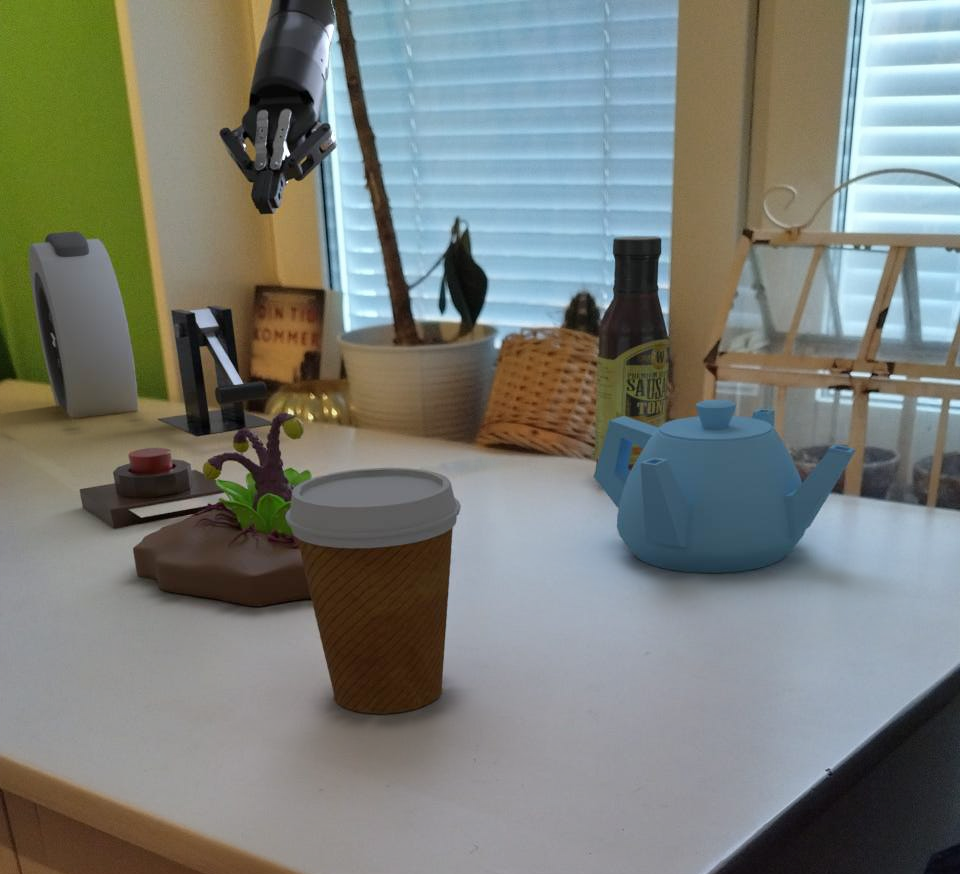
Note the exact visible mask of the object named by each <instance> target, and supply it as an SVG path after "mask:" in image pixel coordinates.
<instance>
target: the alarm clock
mask: <svg viewBox="0 0 960 874" xmlns="http://www.w3.org/2000/svg"><path fill="white" fill-rule="evenodd" d="M28 264H29V277H30V285H31V286H30V287H31V292H32V299H33V307H34V313H35V317H36V323H37V328H38V335H39V339H40V343H41V348H42V353H43V354H42V355H43V358H44V363H45V367H46V371H47V377H48V380H49V385H50V389H51V392H52V395H53V400H54V403H55V406H56V407H58V406H61V407H62V408H63V409H64V410H65V412H66V413H67V414H68V416H69V417H70V418H71V419H80V418H81V419H82V418H88V417H98V416H107V415H115V414H124V413H132V412H138V411H139V394H138V384H137V374H136V368H135V359H134V353H133V347H132V342H131V341H132V340H131V335H130V330H129V325H128V324H129V323H128V320H127V315H126V311H125V306H124V302H123V297H122V294H121V290H120V287H119V282H118V279H117V275H116V272H115V270H114V267H113V264H112V260H111V257H110V255H109V253H108V251H107V249H106V247H105V244H104V243H103V242H102V241H101V240H100V239H99V238H88V239H86V237H85V236H84V234H83V233H81V232H80V231H76V230H75V231H63V232H62V231H61V232H50V233H48V234H47V235H45V239H44V242H35V243H33V242H32V243H31V245H29V251H28Z"/></svg>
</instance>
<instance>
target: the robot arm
mask: <svg viewBox="0 0 960 874" xmlns="http://www.w3.org/2000/svg"><path fill="white" fill-rule="evenodd" d="M269 6H270V7H269V11H268V16H267V20H266V26H265V29H264V32H263V35H262V36H261V40H260V44H259V48H258V52H257V57H256V62H255V67H254V72H253V77H252V81H251V86H250V92H249V97H248V98H249V99H248V108H247V111H246V112H245V113H244V115H242V118H241V125H239V126H237V127H236V128H234V129H233V130H231V129H230V128H229V127H222V128H221V129H220V130H219V133H218V134H219V136H220V138H221V140H222V143H223V145H224V147H225V149H226V151H227V153H228V155H229V156H230V158H231V159H232V161H233V162H234V164H236V166H237V168H238V169H239V170H240V171H241V173H242V175H243V176H244V177H245V179H246V180H247V182H249V183H251V184H252V183H253V184H252V188H251V193H250V197H251V200H252V203H253V206H254V207H255V209H256V210H257V211H258V212H259V214H260V215H274V214H275V213H276V209H280V207H281V205H282V200H283V196H284V190H285V187H286V186H287V185H288V183H289V181H290V180H293V179H294V180H295V181H297V182H301V181H302V180H304V179H305V178H306V177H308V175H309V174H310V173H312V171H313V170H314V169H315V168H317V167H318V166H319V165H320V164H321V163H322V162H323V161H324V160H325V159H326V158H327V157H328V156H329V155H331V153H332V152H333V151H334V150H336V148H337V147H338V143H337V141H336V137H335V134H334V132H333V129H332V127H331V124H330V123H328V122H324V123H322V121H321V120H320V116H321V111H322V105H323V100H324V97H325V96H324V94H325V89H326V86H327V85H326V84H327V81H328V78H329V68H330V52H331V51H330V50H331V46H332V41H333V35H334V29H335V25H336V24H335V23H336V14H335V15H334V11H333V7H332V4H331V0H271V3H270V5H269ZM247 139H248V140H249V142H250V143H251V145H252V146H253V148H254V150H255V158H254V160H252V159H251V157H250V155H249V154H248V153H247V152H246V148H247V143H246V141H247Z"/></svg>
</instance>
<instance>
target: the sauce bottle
mask: <svg viewBox="0 0 960 874" xmlns="http://www.w3.org/2000/svg"><path fill="white" fill-rule="evenodd" d="M612 241H613V243H612V255H613V258H614V273H613V276H614V280H613V287H612V290H613V298H612V300H611V301H610V302H609V303H610V304H609V305H608V307H607V308H606V310H605V311H604V314H603V316H602V317H601V320H600V325H599V330H598V354H597V356H596V358H597V359H596V394H595V396H596V398H595V423H594V424H595V426H594V427H595V430H594V458H595V459H596V462H595V463H596V465H595V468H596V467H597V463H598V460H599V456H600V453H601V449H602V446H603V443H604V439H605V436H606V432H607V429H608V425H609V422H610V420H613V419H616V418H619V417H622V416H626V417H629V418H632V419H635V420H637V421H640V422H643V423H646V424H649V425H652V426H655V427H658V428H659V427H660V426H661V425H662V424H664V423H666V422H667V404H668V388H669V387H668V386H669V363H670V343H671V342H670V341H671V340H670V337H669V334H668V331H667V326H666V322H665V317H664V314H663V309H662V305H661V301H660V297H659V284H658V282H659V262H660V257H661V255H662V238H661V237H660V236H655V235H654V236H650V235H649V236H646V235H645V236H641V235H640V236H618V237H614V238H613V239H612ZM643 449H644V448H642V447H640V446H638V445H636V444H634V443H633V445H632V450H631V455H630V460H629V465H628V469H629V470H630V471H631V470H632V468H633V466H634V464H635V462H636V460H637V459H638V457H639V455H640V454H641V452H642V450H643Z"/></svg>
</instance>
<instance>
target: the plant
mask: <svg viewBox="0 0 960 874" xmlns="http://www.w3.org/2000/svg"><path fill="white" fill-rule="evenodd" d="M271 422H273V423H272V424H271V425H270V428H269V432H268V434H267V436H266V439H267V442H265V443H266V444H265V445H264V442H263V441H262V439H260V438H259V436H258V435H256V433H255V432H252V430H251V428H249V429H247V428H246V429H245V428H243V429H241V430H237V432H236V433H235V434H234V436H233V440H232V446H233V448H234V450H235V451H236V452H224V453H221V454H217V455H213V456H212V457H210V458H208V459H207V461H205V462H204V463H203V466H202V473H203V474H204V475H205V479H215V480H216V485H217V486H218V487H220V488H221V489H222V490H223V491H224V494H225V495H226V496H227V498H228V499H225V498H224V497H219V498H218V501H217V502H216V503H215V506H212V505H213V504H212V503H211V502H208V503H207V505H206V506H207V508H206V509H204V508H202V507H203V506H198V507H199V508H202V509H204V510H203V511H200V512H199V511H198V513H196V514H193V515H189V516H188V517H186V518H184V519H182V520H179V521H177V522H174V523H171V524H167V525H165V526H163V527H161V528H160V529H158V530H156V531H153V532H151V533H149V534H147V535H146V536H144V537H143V538H142V540H141V541H140V542H139V543H138V544H136V545H135V546H133V548H132V551H133V552H132V553H133V559H134V565H135V570H136V571H135V572H136V575H137V576H139V577H142V578H150V579H155V580H157V584H158V587H159V589H160V590H162V591H166V592H169V593H175V594H183V595H187V596H188V595H189V596H193V597H202V598H206V599H214V600H220V601H224V602H228V603H234V604H239V605H243V606H249V607H264V606H270V605H276V604H280V603H285V602H291V601H297V600H308V599H309V600H310V599H311V596H310V591H309V587H308V583H307V578H306V574H305V569H304V566H303V562H302V557H301V553H300V548H299V544H298V540H297V537H295V536H294V534H293V532H292V528H291V527H290V525H289V524H288V523H287V521H286V517H285V516H286V513H287V511H288V510H289V509H290V507H291V497H292V490H293V489H294V488H295V487H296V486H297V485H298V484H300V483H302V482H304V481H306V480H309V479H312V472H311V470H310V469H306V470H303V471H301V472H299V471H298V470H297V469H296V468H294V467H291V466H289V467H288V468H286V469H284V468H283V467H284V461H283V459H282V458H281V457H282V451H281V450H280V443H281V441H280V440H281V439H280V434H281V427H283V428H282V430H283V432H284V434H285V435H286V437H288V438H289V439H292V440H300V439H301V437H302V436H303V435H304V433H305V429H304V424H303V423H302V421H301V419H299V418H298V417H297V416H296V414H295V415H294V414H292V413H288V412H286V411H285V412H279V413H278V414H277V415H276V416H275V417H273V418H272V421H271ZM250 443H251V447H252V449H254V450H255V453H256V455H257V458H258V461H259V464H257V463H256V462H254V461H252V459H251V458H249V457H247V456H246V455H244V453H246V452H248V450H249V448H250ZM229 461H230V462H231V461H232V462H237V463H238V464H240V465H241V466H242V467H244V468H245V469H246V470H247V471H248V473H247V474H246V475H245V482H246V486H247V487H245V486H243V485H241V484H239V483H238V482H234V481H231V480H223V479H220V478H219V477H220V476H221V474H222V471H223V465H224V463H225V462H229ZM209 505H210V506H209Z"/></svg>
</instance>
